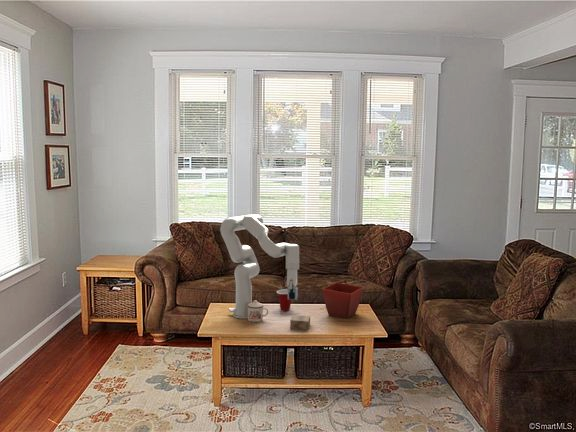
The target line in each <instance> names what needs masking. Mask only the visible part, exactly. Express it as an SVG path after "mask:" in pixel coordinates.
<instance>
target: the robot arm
mask: <svg viewBox="0 0 576 432" xmlns="http://www.w3.org/2000/svg"><path fill="white" fill-rule="evenodd" d="M219 229H220V234H221V237H222V239H223V242H224V243H225V246H226V248H227V250H228V254H229V256H230V260H231V261H232V262H233V263H241V264H238V265H237V266H236V267H235V269H234V278H235V279H234V280H235V307H233V308H232V307H228V312H229V313H232V317H234V318H236V319H244V320H245V319H248V304H249V303H252V302H253V300H252V299H253V298H252V296H253V294H252V293H253V286H252V281H251V279H252V278H254V277H256V276H258V275H259V273H260V270H261V269H260V265H259V262H258V259H257V257H256V254H255V251H254V250H253V248H252V246H249V245H247V244H242V243H241V241H240V238H239V237H238V235H237V234H236V233H235V232H236V231H242V230H246V231H248V232H249V233H250V234H251V235H252V236H253V237H255V239H257V241H258V243H259V245H260V247H261V249H262V250H263V252H265V253H267V255H268V256H270V257H272V258H276V259H277V258H280V257H284V256H285V269H286V270H287V272H286V287H287V288H289V299H292V300H293V299H295V292H294V287H297V285H298V270H300V245H298V244H296V243H288V242H280V243H274V241H272V240H271V239H270V238H269V236H268V234H269V232H270V230H269V228H268V227H266V225H264V219H263V217H262V215H260V214H257V213H252V214H246V215H245V214H244V215H238V216H230V217H227V218H226V219H224V220H223V221H222V222H221V225H220V228H219Z"/></svg>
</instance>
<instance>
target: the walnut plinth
mask: <svg viewBox="0 0 576 432" xmlns="http://www.w3.org/2000/svg"><path fill="white" fill-rule="evenodd" d="M289 320H290V322H289V324H290V325H289V327H290V330H300V331H301V330H303V331H308V330H309V329H310V325H311V315H300V314H299V315H298V314H293V315H292V316H291V319H289Z"/></svg>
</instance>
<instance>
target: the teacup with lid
mask: <svg viewBox="0 0 576 432" xmlns="http://www.w3.org/2000/svg"><path fill="white" fill-rule="evenodd" d="M264 310H266V314H264ZM268 314H269V310H268V308H267V307H264V303H260V302H258V300H257V299H256V300H255V299H254V300H253V301H252V303H249V304H248V318H247V320H248V322H251V323H252V322H253V323H260V322H262V321H263V318H264V317H266V316H267V315H268Z"/></svg>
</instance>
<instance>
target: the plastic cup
mask: <svg viewBox="0 0 576 432" xmlns="http://www.w3.org/2000/svg"><path fill="white" fill-rule="evenodd" d="M276 293H277V296H278V302H279V303H278V304H279V308H280V310H281V311H290V309H291V304H292V300H293V299H288V288H285V289H284V288H283V289H278V290H276Z"/></svg>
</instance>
